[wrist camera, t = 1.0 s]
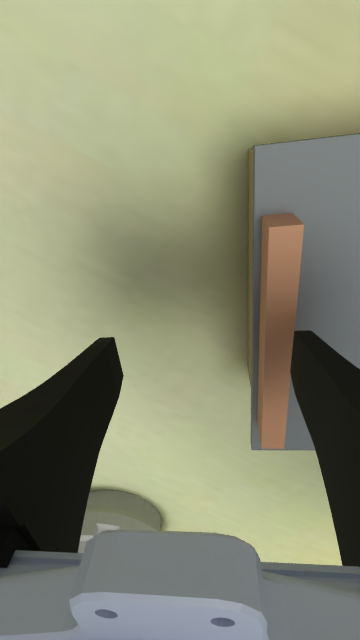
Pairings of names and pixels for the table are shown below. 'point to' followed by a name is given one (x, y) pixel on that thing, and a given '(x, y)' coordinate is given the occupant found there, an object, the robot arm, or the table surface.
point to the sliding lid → (301, 272)
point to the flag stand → (116, 514)
